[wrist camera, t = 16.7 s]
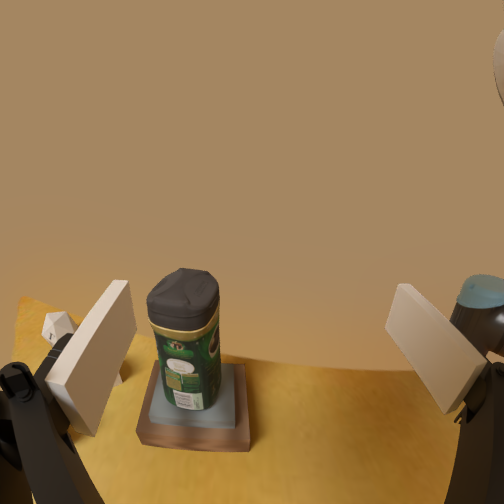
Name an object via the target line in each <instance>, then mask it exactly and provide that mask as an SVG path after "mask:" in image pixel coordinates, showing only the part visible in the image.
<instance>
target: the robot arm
mask: <svg viewBox="0 0 504 504" xmlns="http://www.w3.org/2000/svg"><path fill="white" fill-rule="evenodd" d="M502 1H503V8H504V0H502ZM493 67H494V75H495V80H496V85H497V89H498V92H499V96H500V98H501V100H502V103H503V105H504V29H503V30H502V32H501V33H500V35H499V36H498V38H497V41H496V43H495V48H494V55H493ZM385 329H386V331H387V332H388V333H389V335H390V336H391V337H392V339H393V340H394V341H395V343H396V344H397V346H398V347H399V348H400V350H401V351H402V353H403V354H404V356H405V357H406V358H407V360H408V361H409V363H410V364H411V365H412V367H413V368H414V370H415V371H416V373H417V374H418V376H419V377H420V379H421V380H422V382H423V383H424V385H425V386H426V388H427V389H428V391H429V392H430V394H431V395H432V397H433V398H434V400H435V401H436V403H437V404H438V406H439V408H440V409H441V411H442V412H443V414H444V415H445V414H448V413H450V412H453V411H455V410H456V409H457V408H458V407H459V405H460V404H461V402H462V401H463V400H464V402H465V403H466V405H465V406H464V408H463V409H462V410H461V412H460V413H459V414H458V416H457V417H456V418H455V420H454V423H456V422H457V421H458V419H459V418H460V417H462V419H461V421H460V422H459V423H458V424H461V427H460V435H459V441H458V447H457V453H456V458H455V463H454V468H453V472H452V477H451V481H450V485H449V488H448V492H447V495H446V499H445V502H444V504H504V363H501V362H495V363H493V364H492V363H491V362H490V361H489V360H488V359H487V358H486V354H487V353H488V351H492V352H494V353H496V354H498V355H500V356H502V357H504V279H501V278H498V277H495V276H491V275H481V274H479V275H473V276H470V277H469V278H467V279H466V280H465V282H464V284H463V286H462V289H461V291H460V294H459V295H458V297H457V303H456V305H455V308H454V310H453V313H452V315H451V318H450V320H449V321H448V320H447V319H446V318H445V317H444V316H443V315H442V314H441V313H440V312H439V311H438V310H437V309H436V308H435V307H434V306H433V305H432V304H431V303H430V302H429V301H428V300H427V299H426V298H425V297H423V296H422V295H421V294H420V293H419V292H418V291H417V290H416V289H415V288H414V287H412V285H410V284H398V286H397V290H396V293H395V297H394V300H393V304H392V307H391V310H390V313H389V316H388V319H387V322H386V325H385ZM136 331H137V327H136V321H135V316H134V311H133V305H132V300H131V293H130V287H129V281H126V280H113V282H112V283H111V284H110V286H109V287H108V288H107V289H106V291H105V292H104V293H103V295H102V296H101V297H100V299H99V300H98V301H97V303H96V304H95V305H94V307H93V308H92V309H91V311H90V312H89V314H88V315H87V316H86V318H85V319H84V321H83V322H82V323H81V325H80V326H79V328H78V329H77V331H76V332H75V333H74V334H72V333H66V334H65V335H64V336H62V337H61V338H60V339H58V340H57V342H56V343H55V345H54V346H53V348H52V350H50V352H49V353H48V356H47V357H46V358H45V359H44V361H43V362H42V364H41V365H40V367H39V368H38V370H37V371H36V373H35V374H34V376H33V375H32V373H31V372H30V370H29V368H28V366H27V365H26V364H24V363H22V362H12V363H10V364H7V365H6V366H4V367H3V368H2V369H1V370H0V386H1V388H2V390H3V391H0V504H33V499H32V494H33V496H34V499H35V501H36V504H105V503H104V501H103V500H102V498H101V496H100V495H99V493H98V491H97V489H96V488H95V486H94V484H93V482H92V480H91V479H90V477H89V475H88V473H87V471H86V469H85V467H84V465H83V463H82V461H81V459H80V457H79V455H78V452H77V450H76V448H75V446H74V443H73V441H72V439H71V436H70V434H69V433H68V431H67V430H68V427H69V425H70V424H71V425H72V427H73V428H74V430H75V431H76V432H77V433H81V434H84V435H88V436H92V437H95V434H96V431H97V428H98V426H99V423H100V420H101V417H102V414H103V412H104V409H105V406H106V404H107V401H108V398H109V396H110V393H111V391H112V388H113V385H114V383H115V380H116V378H117V375H118V373H119V370H120V368H121V366H122V363H123V361H124V358H125V356H126V354H127V351H128V349H129V347H130V344H131V342H132V340H133V338H134V335H135V333H136ZM31 491H32V492H31Z"/></svg>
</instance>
